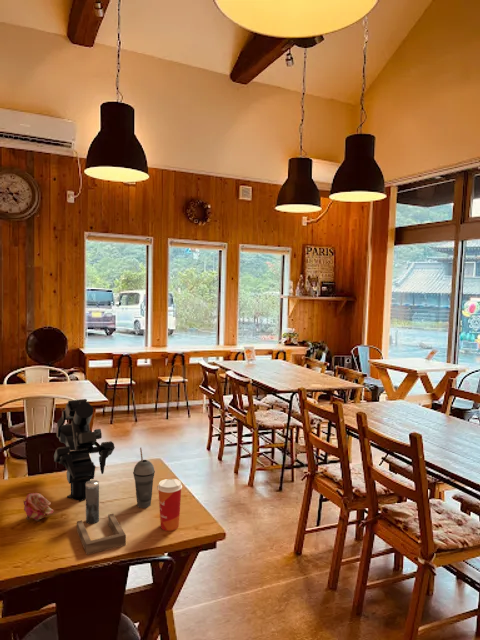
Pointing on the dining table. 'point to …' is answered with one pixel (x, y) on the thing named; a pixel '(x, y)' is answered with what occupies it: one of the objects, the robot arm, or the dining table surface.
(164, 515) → the paper cup
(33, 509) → the flower
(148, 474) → the beverage cup
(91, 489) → the pepper mill
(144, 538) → the dining table surface
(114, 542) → the frame
